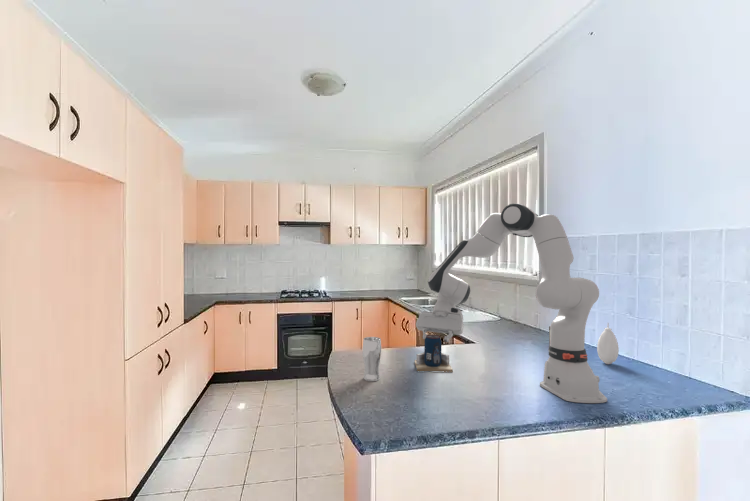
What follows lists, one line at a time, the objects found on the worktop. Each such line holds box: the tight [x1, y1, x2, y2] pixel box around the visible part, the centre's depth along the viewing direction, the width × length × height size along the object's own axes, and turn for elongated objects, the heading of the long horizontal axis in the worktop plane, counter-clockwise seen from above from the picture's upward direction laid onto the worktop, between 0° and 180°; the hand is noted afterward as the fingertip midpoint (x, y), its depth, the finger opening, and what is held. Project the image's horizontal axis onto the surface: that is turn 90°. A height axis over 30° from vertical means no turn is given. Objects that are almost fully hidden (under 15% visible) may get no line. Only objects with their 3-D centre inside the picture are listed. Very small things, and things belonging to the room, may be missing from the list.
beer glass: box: [362, 336, 382, 382], centre depth 145 cm, size 7×7×15 cm
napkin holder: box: [414, 351, 454, 373], centre depth 160 cm, size 13×14×5 cm
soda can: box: [423, 334, 442, 367], centre depth 159 cm, size 7×7×12 cm
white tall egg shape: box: [596, 322, 620, 365], centre depth 168 cm, size 8×8×18 cm
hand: (435, 339), depth 161 cm, fingers open, 8 cm apart
